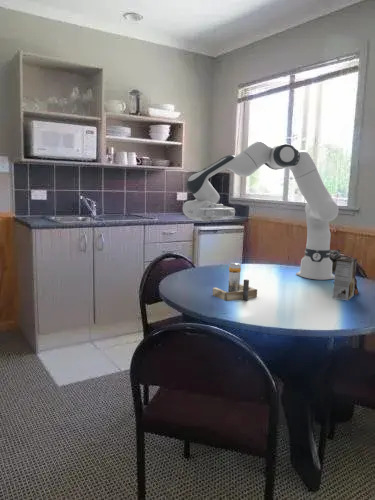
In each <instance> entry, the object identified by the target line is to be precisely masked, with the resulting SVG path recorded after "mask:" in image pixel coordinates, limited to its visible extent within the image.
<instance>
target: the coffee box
mask: <svg viewBox="0 0 375 500" xmlns="http://www.w3.org/2000/svg"><path fill="white" fill-rule="evenodd" d="M341 256H342V255H341ZM357 261H358V258H356V257H355V258H354V257H351V256H342V257H340V258H338V259H336V267H335V272H334V276H335V278H334V279H333V282H334V283H333V291H332V298H333V299H338V300H344V301H350V300H351V299H352V298H353V297H354V296H355V292H354V290H355V289H354V286H355V278H356V274H357V263H358V262H357Z"/></svg>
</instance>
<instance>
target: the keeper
mask: <svg viewBox="0 0 375 500" xmlns="http://www.w3.org/2000/svg"><path fill="white" fill-rule="evenodd" d="M249 284H250V280H249V279H243V283H241V284H240V287H239V291H233V292H228V291H226V290H223V289H221V288H218V287H212V296H214V297H216V298H218V299H221V300H223V301H226V302H229V301H230V302H232V301H237V300H242V301H244V302H248V301H249V299H251V298H258V297H257V296H258V289H257V288H254V287H251V286H249Z"/></svg>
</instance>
